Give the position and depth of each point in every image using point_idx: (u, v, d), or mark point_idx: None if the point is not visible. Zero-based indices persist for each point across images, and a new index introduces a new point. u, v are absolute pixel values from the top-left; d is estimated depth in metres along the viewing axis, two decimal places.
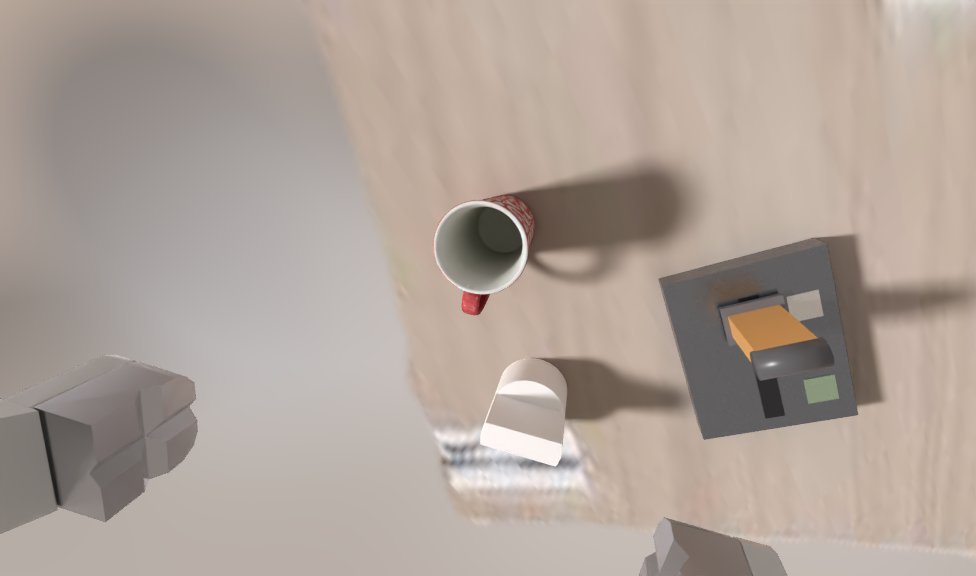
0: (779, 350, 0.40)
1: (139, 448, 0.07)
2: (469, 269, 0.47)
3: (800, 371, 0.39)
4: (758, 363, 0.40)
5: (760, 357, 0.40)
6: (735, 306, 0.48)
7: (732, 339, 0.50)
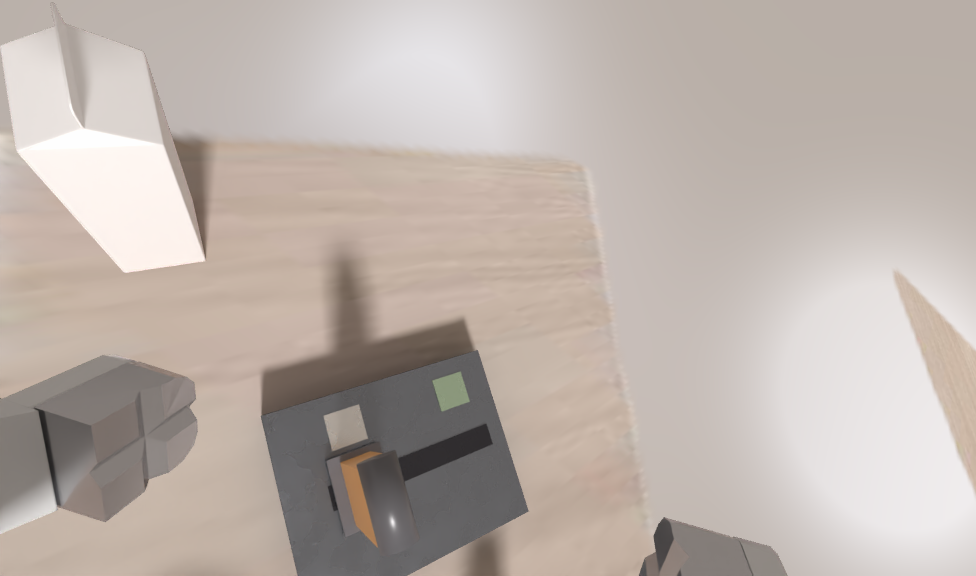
0: (373, 522, 0.29)
1: (139, 448, 0.07)
2: None
3: (401, 493, 0.29)
4: (391, 553, 0.28)
5: (383, 548, 0.28)
6: (341, 518, 0.36)
7: None
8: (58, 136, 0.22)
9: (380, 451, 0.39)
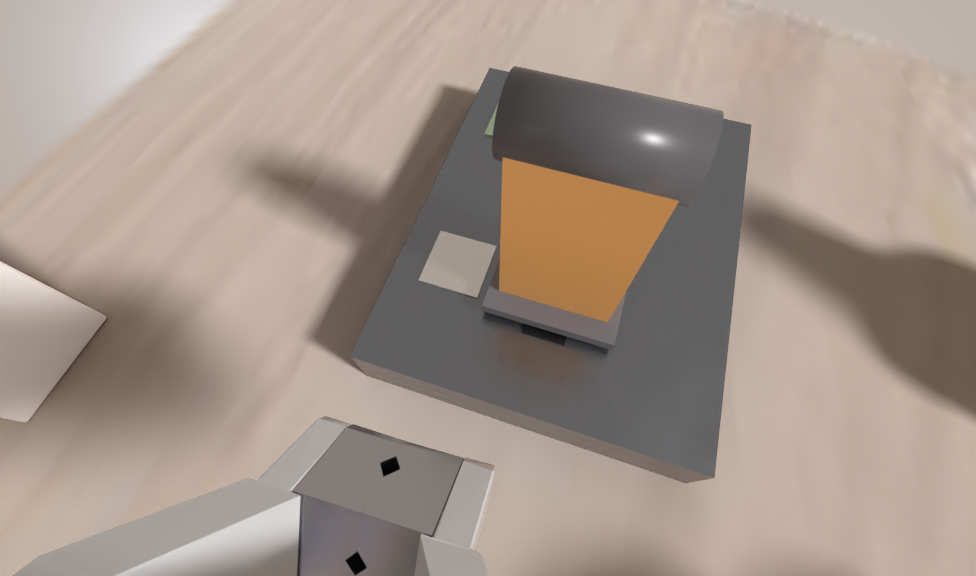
0: (622, 166, 0.12)
1: None
2: None
3: None
4: (711, 153, 0.11)
5: (690, 170, 0.12)
6: (581, 334, 0.20)
7: None
8: None
9: None
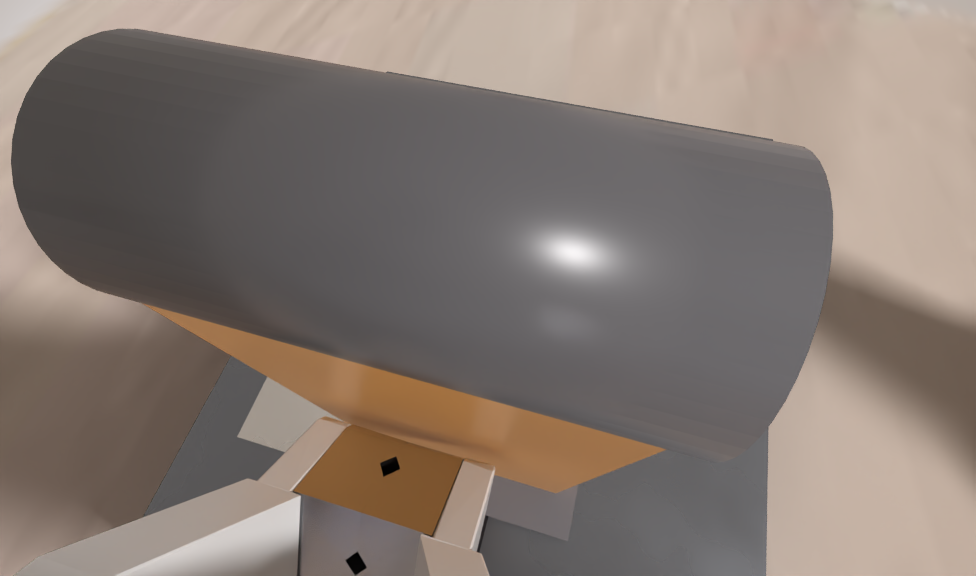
0: (455, 365, 0.03)
1: None
2: None
3: (397, 76, 0.04)
4: (792, 345, 0.03)
5: (702, 397, 0.03)
6: (509, 519, 0.11)
7: None
8: None
9: None
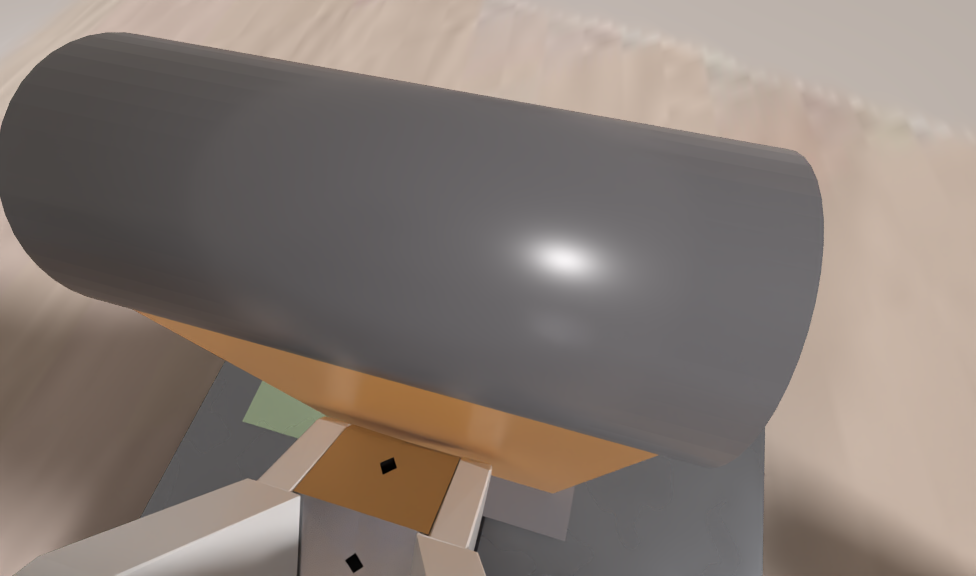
0: (446, 372, 0.03)
1: None
2: None
3: (386, 80, 0.04)
4: (783, 353, 0.03)
5: (693, 405, 0.03)
6: (506, 520, 0.11)
7: None
8: None
9: None
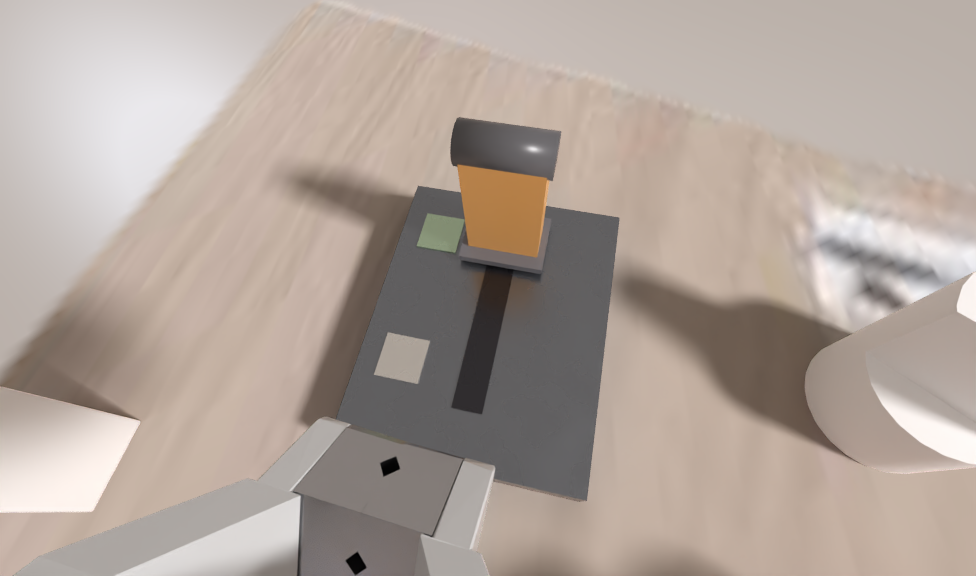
0: (515, 163, 0.24)
1: None
2: None
3: (503, 124, 0.24)
4: (555, 153, 0.24)
5: (547, 162, 0.24)
6: (521, 266, 0.32)
7: (544, 225, 0.34)
8: None
9: None
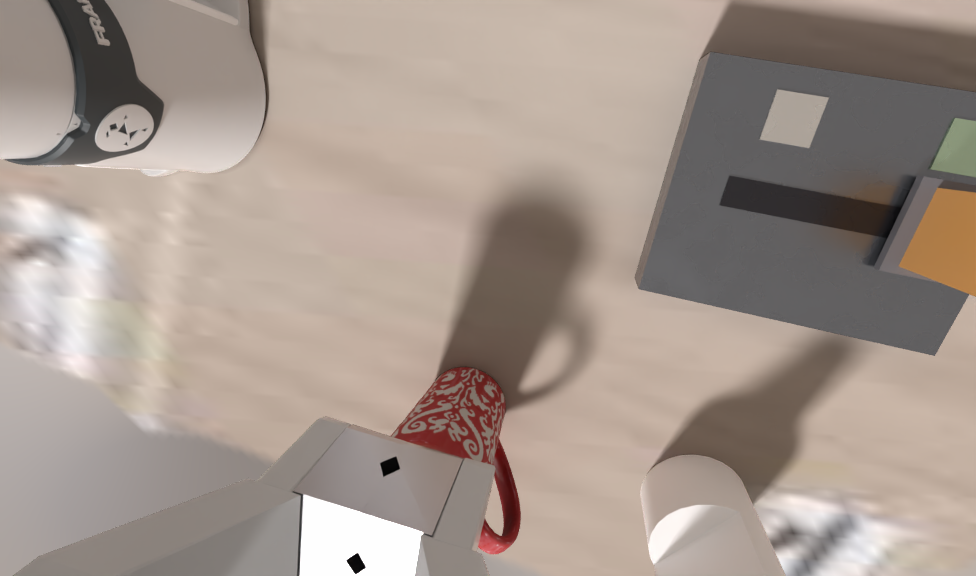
0: None
1: None
2: None
3: None
4: None
5: None
6: (889, 248, 0.29)
7: None
8: None
9: None
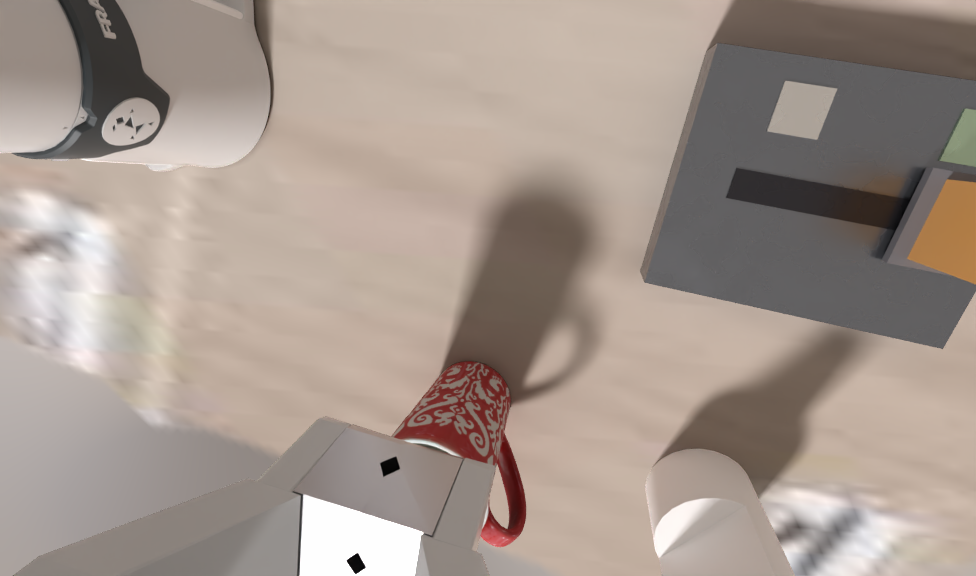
0: None
1: None
2: None
3: None
4: None
5: None
6: (898, 241, 0.29)
7: None
8: None
9: None
